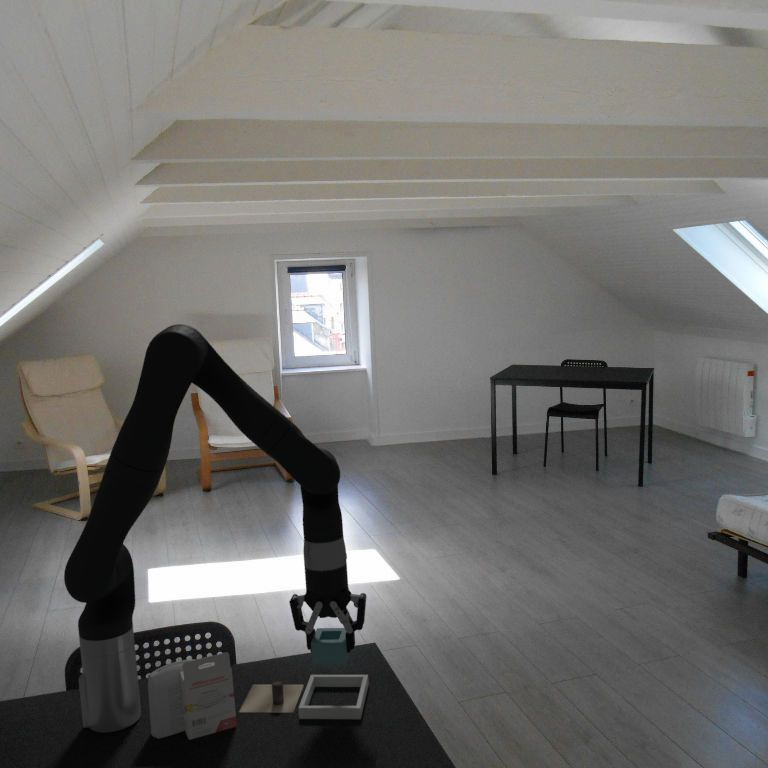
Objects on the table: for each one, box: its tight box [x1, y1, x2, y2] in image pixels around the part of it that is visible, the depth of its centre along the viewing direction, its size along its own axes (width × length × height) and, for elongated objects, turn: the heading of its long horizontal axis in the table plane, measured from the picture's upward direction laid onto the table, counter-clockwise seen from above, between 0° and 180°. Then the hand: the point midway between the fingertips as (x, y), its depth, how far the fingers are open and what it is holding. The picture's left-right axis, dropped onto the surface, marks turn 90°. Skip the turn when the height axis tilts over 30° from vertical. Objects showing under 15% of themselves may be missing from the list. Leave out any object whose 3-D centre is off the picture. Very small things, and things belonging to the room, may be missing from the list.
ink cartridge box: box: [180, 651, 238, 740], centre depth 140 cm, size 9×5×15 cm, turn 115°
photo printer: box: [147, 658, 196, 740], centre depth 141 cm, size 10×4×12 cm, turn 121°
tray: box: [298, 674, 370, 720], centre depth 147 cm, size 11×12×3 cm
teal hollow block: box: [310, 627, 350, 665], centre depth 145 cm, size 6×8×4 cm
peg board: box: [238, 681, 305, 714], centre depth 149 cm, size 10×10×4 cm
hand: (331, 650), depth 144 cm, fingers closed on teal hollow block, 6 cm apart
